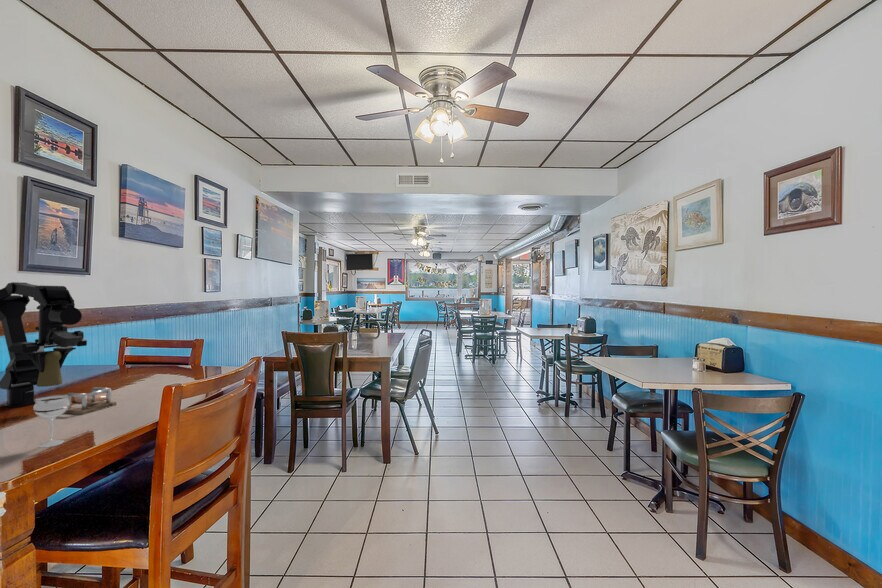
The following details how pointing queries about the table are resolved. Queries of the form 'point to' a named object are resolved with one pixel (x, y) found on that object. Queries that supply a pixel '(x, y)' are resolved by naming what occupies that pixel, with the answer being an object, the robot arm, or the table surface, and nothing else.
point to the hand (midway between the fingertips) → (50, 370)
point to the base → (94, 407)
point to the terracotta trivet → (98, 398)
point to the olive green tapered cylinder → (51, 370)
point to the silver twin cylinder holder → (93, 394)
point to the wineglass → (51, 412)
